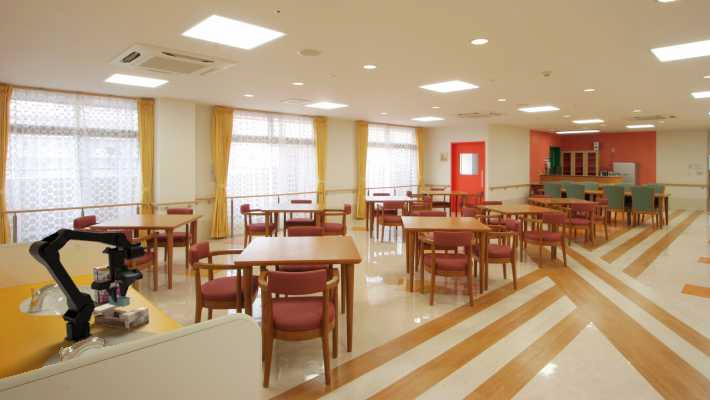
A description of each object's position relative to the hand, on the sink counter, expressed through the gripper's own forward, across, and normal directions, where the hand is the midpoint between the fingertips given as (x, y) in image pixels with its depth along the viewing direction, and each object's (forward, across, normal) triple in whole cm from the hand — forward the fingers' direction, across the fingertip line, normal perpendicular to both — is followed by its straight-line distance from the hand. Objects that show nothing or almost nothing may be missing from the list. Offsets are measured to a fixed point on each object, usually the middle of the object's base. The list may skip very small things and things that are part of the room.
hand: (119, 301), depth 168 cm
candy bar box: (+9, +18, +32) cm, 38 cm away
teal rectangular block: (+1, 0, 0) cm, 1 cm away
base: (+9, 0, 0) cm, 9 cm away
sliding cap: (+8, 0, +8) cm, 11 cm away
